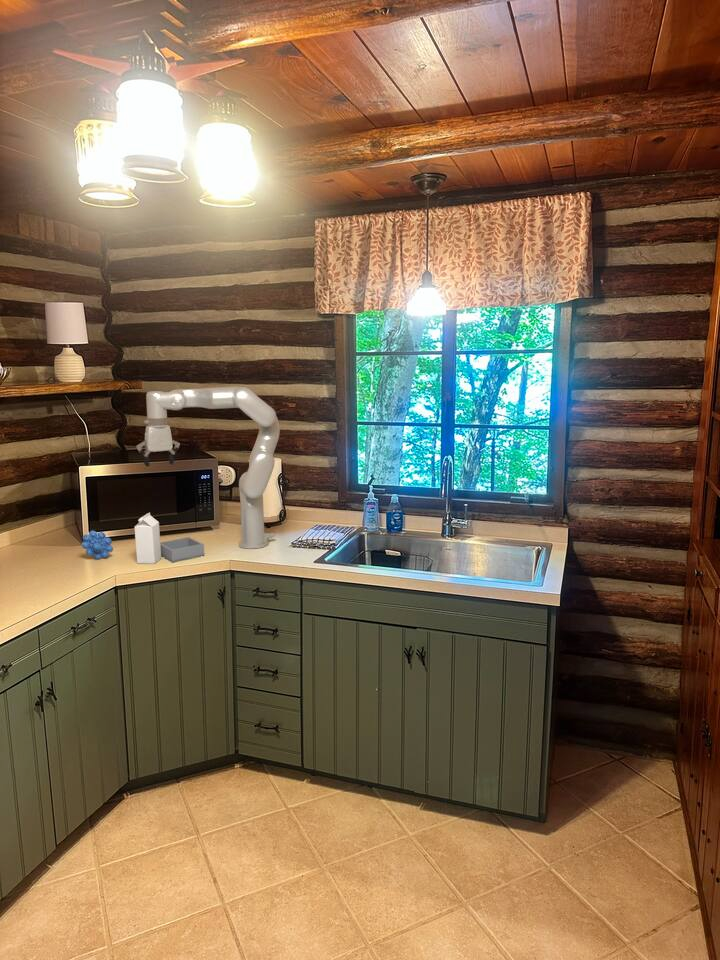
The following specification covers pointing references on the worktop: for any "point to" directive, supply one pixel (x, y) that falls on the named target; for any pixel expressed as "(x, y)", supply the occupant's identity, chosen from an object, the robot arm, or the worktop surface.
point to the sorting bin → (181, 549)
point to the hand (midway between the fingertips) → (159, 464)
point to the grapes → (97, 544)
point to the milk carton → (147, 540)
